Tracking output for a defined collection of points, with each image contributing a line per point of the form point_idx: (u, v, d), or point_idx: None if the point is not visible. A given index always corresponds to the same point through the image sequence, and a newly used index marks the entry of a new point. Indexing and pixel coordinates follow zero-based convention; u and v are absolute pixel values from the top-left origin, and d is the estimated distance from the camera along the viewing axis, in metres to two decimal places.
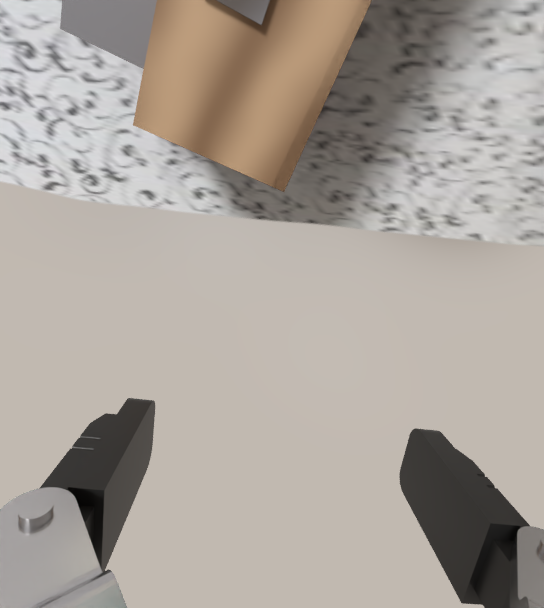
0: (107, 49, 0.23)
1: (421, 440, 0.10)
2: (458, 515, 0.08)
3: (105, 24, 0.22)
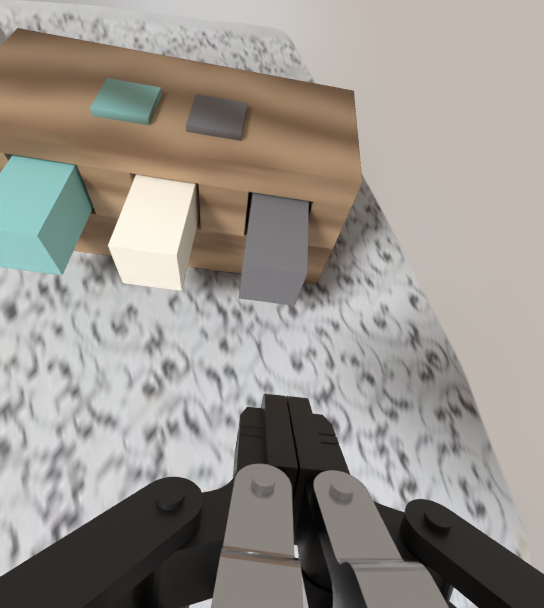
0: (306, 237, 0.23)
1: (287, 405, 0.11)
2: None
3: (287, 238, 0.23)
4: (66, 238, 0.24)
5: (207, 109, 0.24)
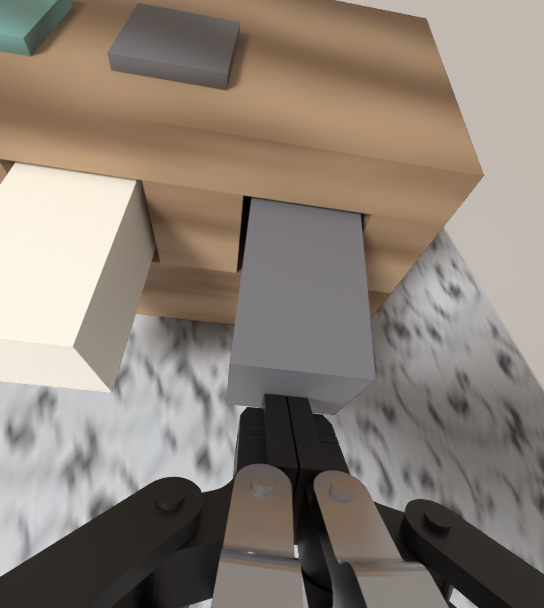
0: (364, 290, 0.11)
1: (287, 405, 0.11)
2: None
3: (325, 293, 0.11)
4: None
5: (157, 29, 0.12)
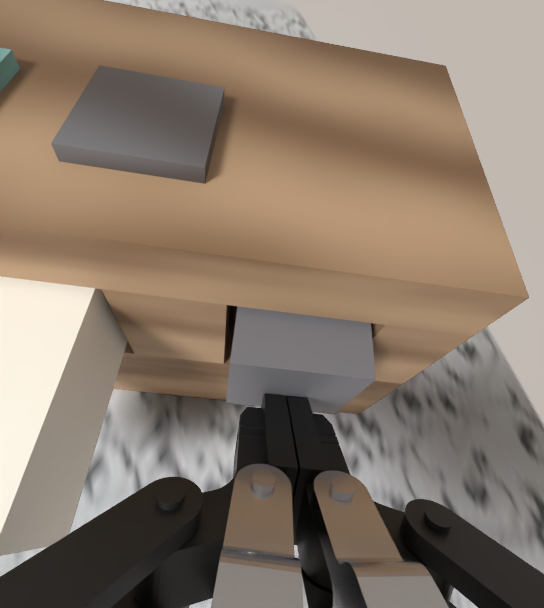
0: None
1: (287, 405, 0.11)
2: None
3: None
4: None
5: (120, 103, 0.09)
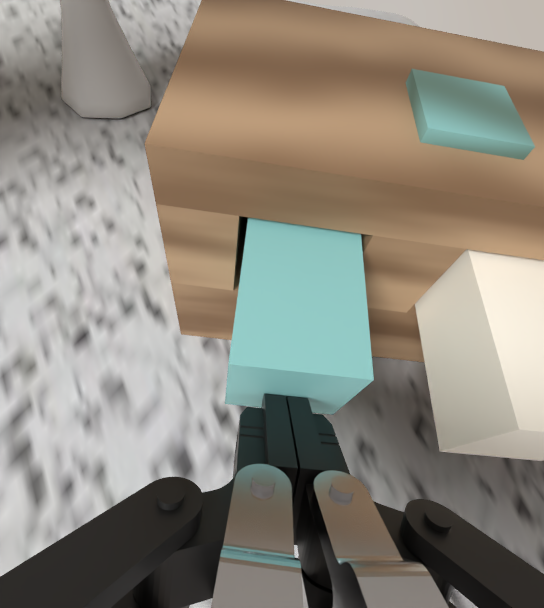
0: None
1: (287, 405, 0.11)
2: None
3: None
4: None
5: None
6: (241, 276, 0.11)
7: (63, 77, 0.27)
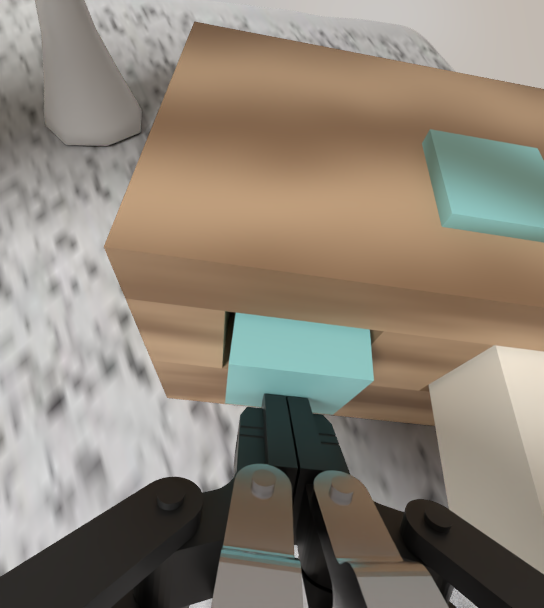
0: None
1: (287, 406, 0.11)
2: None
3: None
4: None
5: None
6: None
7: (46, 102, 0.25)
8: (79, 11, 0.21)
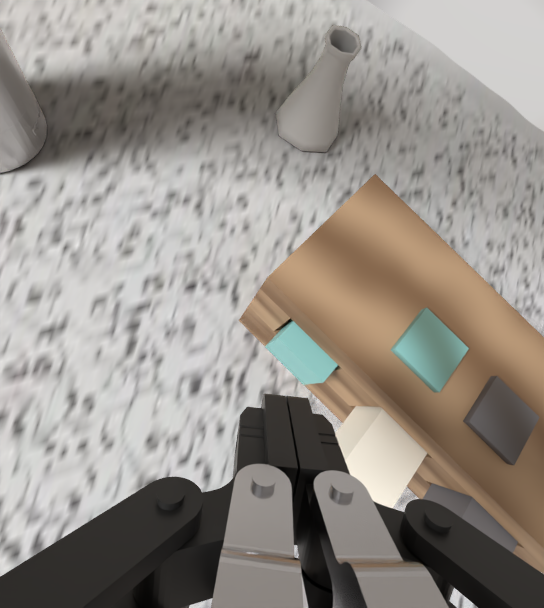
0: None
1: (287, 405, 0.11)
2: None
3: None
4: None
5: (497, 407, 0.21)
6: None
7: (285, 104, 0.37)
8: (339, 78, 0.32)
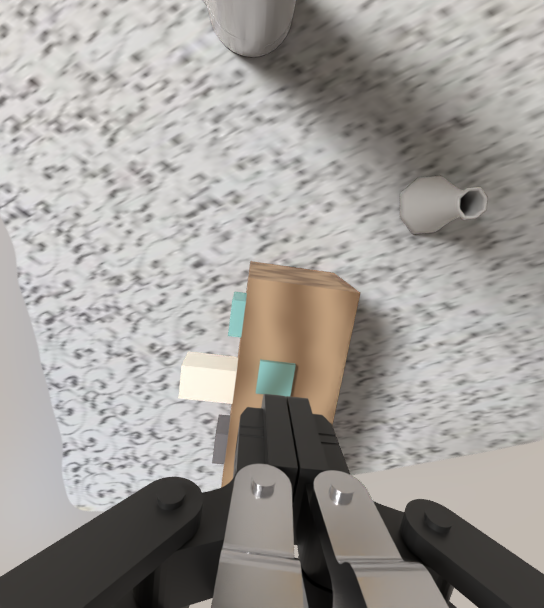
0: None
1: (287, 406, 0.11)
2: None
3: None
4: None
5: None
6: None
7: (424, 182, 0.42)
8: (450, 215, 0.38)
